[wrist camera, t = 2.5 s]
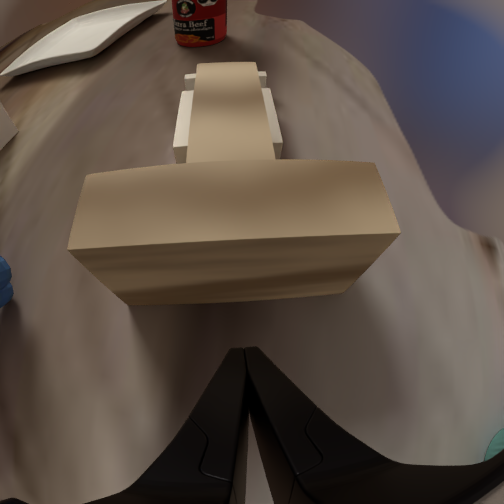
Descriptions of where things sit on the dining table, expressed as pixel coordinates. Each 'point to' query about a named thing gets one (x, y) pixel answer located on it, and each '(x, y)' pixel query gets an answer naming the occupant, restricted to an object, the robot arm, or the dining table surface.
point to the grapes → (5, 283)
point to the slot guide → (185, 114)
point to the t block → (231, 212)
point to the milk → (6, 127)
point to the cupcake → (495, 445)
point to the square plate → (82, 37)
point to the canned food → (199, 22)
